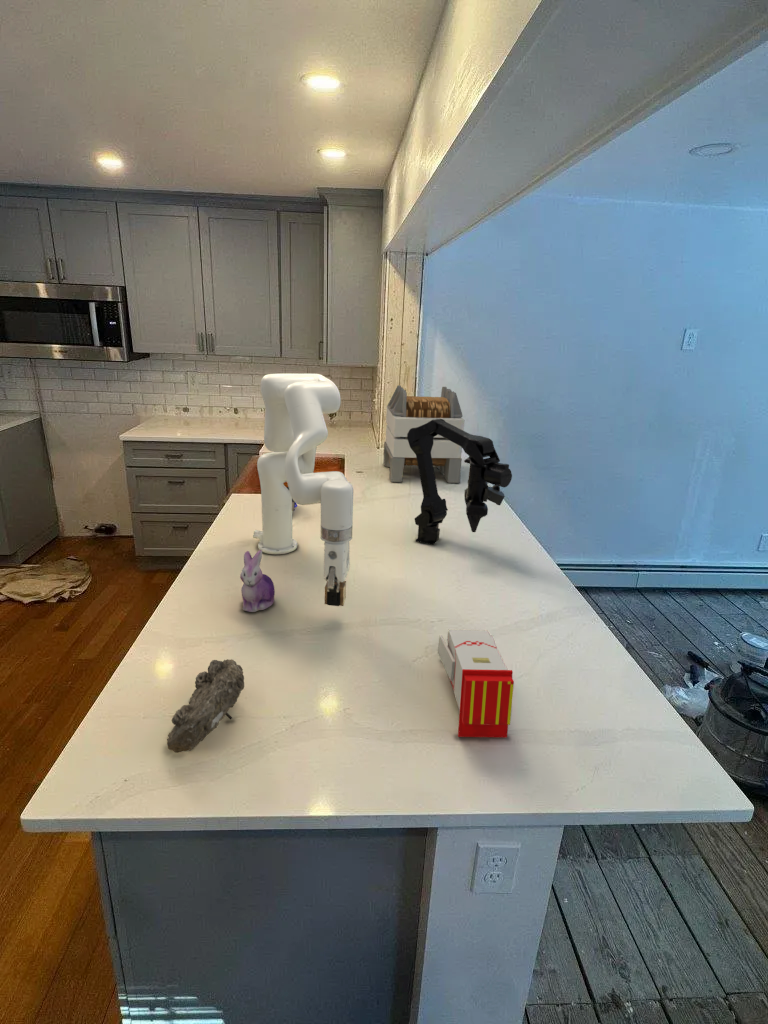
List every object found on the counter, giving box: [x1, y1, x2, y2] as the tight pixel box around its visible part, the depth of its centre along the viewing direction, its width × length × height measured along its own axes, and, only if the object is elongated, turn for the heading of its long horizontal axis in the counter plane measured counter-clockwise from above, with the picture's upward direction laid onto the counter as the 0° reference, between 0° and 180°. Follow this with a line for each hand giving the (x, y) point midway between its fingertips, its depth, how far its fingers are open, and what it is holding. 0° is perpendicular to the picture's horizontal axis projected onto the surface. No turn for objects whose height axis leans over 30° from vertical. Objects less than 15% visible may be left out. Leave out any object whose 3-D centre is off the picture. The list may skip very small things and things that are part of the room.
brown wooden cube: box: [324, 580, 347, 607], centre depth 140 cm, size 4×5×5 cm
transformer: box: [383, 384, 465, 484], centre depth 268 cm, size 34×33×41 cm
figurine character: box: [285, 486, 298, 512], centre depth 216 cm, size 7×8×15 cm
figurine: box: [239, 549, 276, 613], centre depth 146 cm, size 9×10×15 cm
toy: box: [437, 628, 515, 738], centre depth 117 cm, size 12×13×30 cm
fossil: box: [166, 658, 245, 754], centre depth 106 cm, size 22×10×15 cm
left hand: (335, 599), depth 141 cm, fingers closed on brown wooden cube, 4 cm apart
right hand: (472, 526), depth 179 cm, fingers open, 9 cm apart
